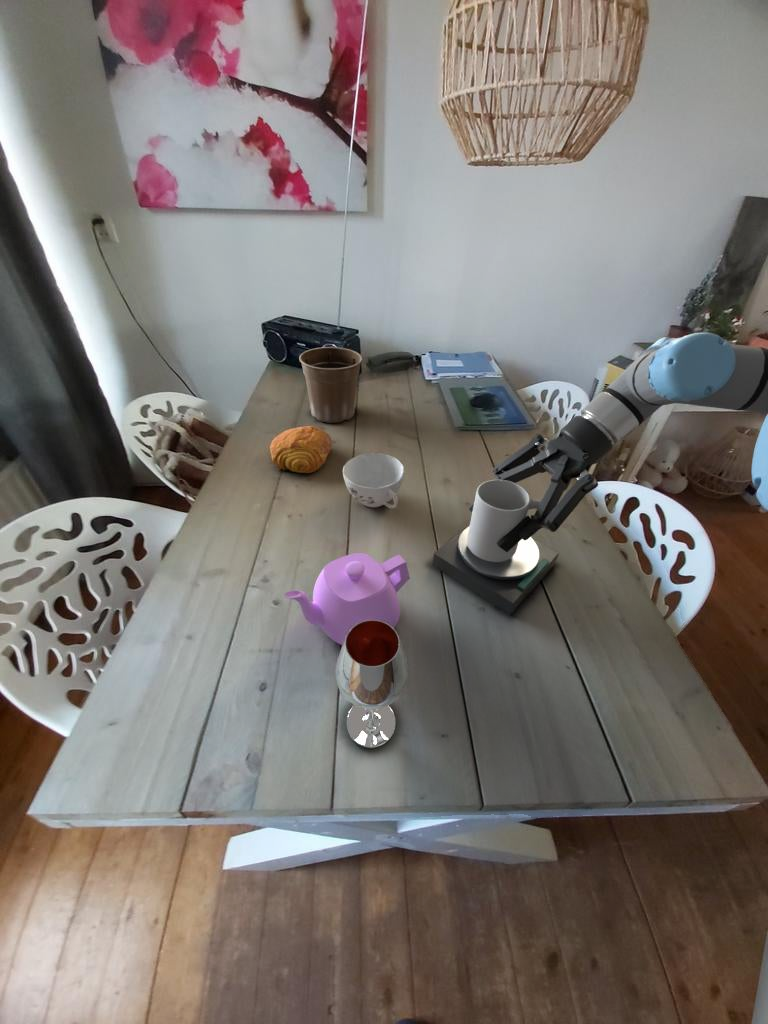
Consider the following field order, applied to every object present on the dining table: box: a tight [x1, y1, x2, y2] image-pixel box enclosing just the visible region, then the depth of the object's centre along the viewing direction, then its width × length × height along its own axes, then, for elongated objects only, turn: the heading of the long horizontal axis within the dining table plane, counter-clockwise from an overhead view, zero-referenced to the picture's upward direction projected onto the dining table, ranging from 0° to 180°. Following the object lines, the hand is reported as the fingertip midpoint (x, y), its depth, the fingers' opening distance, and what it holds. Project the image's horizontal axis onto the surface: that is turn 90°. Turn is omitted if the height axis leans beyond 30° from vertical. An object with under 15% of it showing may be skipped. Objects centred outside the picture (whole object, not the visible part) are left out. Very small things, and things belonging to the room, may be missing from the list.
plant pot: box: [298, 346, 363, 424], centre depth 120 cm, size 16×16×16 cm
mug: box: [467, 479, 542, 562], centre depth 73 cm, size 12×8×11 cm
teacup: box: [342, 452, 405, 509], centre depth 91 cm, size 15×12×8 cm
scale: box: [432, 524, 560, 616], centre depth 79 cm, size 16×16×4 cm
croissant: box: [269, 425, 332, 474], centre depth 105 cm, size 14×16×8 cm
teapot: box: [283, 552, 411, 646], centre depth 67 cm, size 13×20×11 cm, turn 119°
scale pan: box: [458, 526, 539, 580], centre depth 78 cm, size 14×14×1 cm
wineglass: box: [334, 620, 409, 749], centre depth 52 cm, size 8×8×18 cm
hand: (487, 529), depth 73 cm, fingers closed on mug, 8 cm apart
